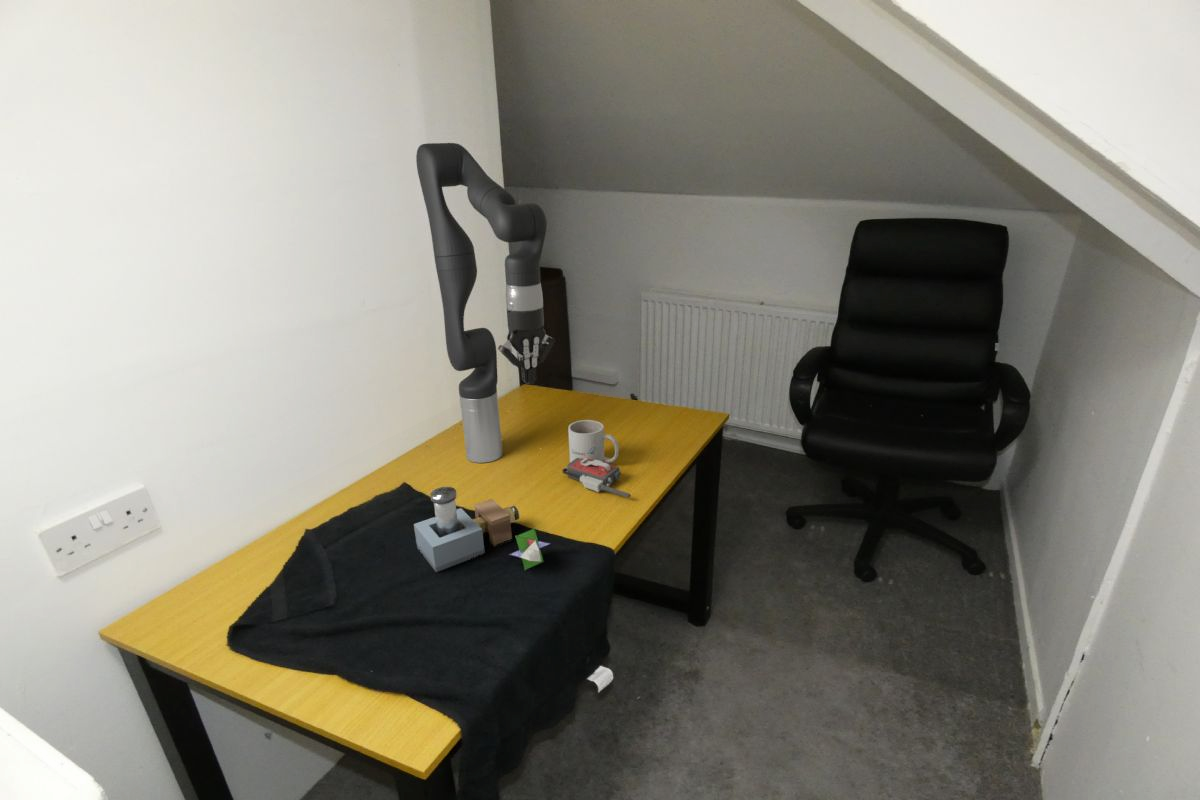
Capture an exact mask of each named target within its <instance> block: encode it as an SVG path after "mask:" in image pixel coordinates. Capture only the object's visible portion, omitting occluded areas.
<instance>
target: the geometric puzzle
mask: <svg viewBox="0 0 1200 800" xmlns="http://www.w3.org/2000/svg"><path fill="white" fill-rule="evenodd" d="M536 531H537V530H536V527H533V528H532V529H530V530H527V531H525V532H522V533H520V534H518V535H515V541H516V542H514V544H513V546H512V547H513V548H511V551H513V549H514V548H515V546H516V545H517V546H516V547H517V548H518V550H516V551H514V552H511V553H509V554H508V555H509V556H511V557H512V556H513V557H517V558H519V560H520V562H521V564H522V566H521V565H520V563H519V562H517V561H516V559H515V558H513V557H512V559H513V560H515V562H516V563H517V564H518V565H519V566H521V568H523V570H524V571H526V570H529V569H532V568H533V567H535V566H537V565H540V564H541V563H544V562H545V559H544V555H545V556H546V554H547V552H548V550H549V547H550V545H551V543H550V542H546V541H541V540H540V539H539V535H538V532H536ZM546 546H548V547H547V549H546V551H545V552H544V555H543V551H542V548H544V547H546Z"/></svg>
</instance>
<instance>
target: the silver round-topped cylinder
mask: <svg viewBox="0 0 1200 800" xmlns="http://www.w3.org/2000/svg"><path fill="white" fill-rule="evenodd" d="M457 497H458V495H457V489H455V487H452V486H441V487H438V488H435V489H433V490H432V491H431V492H430V501H431V502H432V503H433V506H434V507H433V508H434V515H435V517H436V522H437V530H438V537H439V538H441V537H443V536H446V535H449V534H452V533H454V532H457V531H459V527H458V519H457V511H456V510H457V505H456V499H457Z"/></svg>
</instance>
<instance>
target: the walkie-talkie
mask: <svg viewBox="0 0 1200 800" xmlns="http://www.w3.org/2000/svg"><path fill="white" fill-rule="evenodd" d="M561 472H562V474H564V475H567V478H570V479H572V480H573V479H574V480H576V481H578V482H581V483H582V485H583V487H584V488H585V489H589V490H592V491H595V492H597V493H599V492H601V491H602V492H607V493H611V494H615V495H617V496H623V497H626V498H631V496H632V495H631V494H630V493H628V492H625V491H622V490H619V489H616V488H613V487H610V486H611V485H612V484H613V483H614V482H615V481H619V480H620V478H621V476H622V475H621V474H622V473H621V472H620V467H619V466H615V465H612V464H611V463H606V462H602V461H599V460H593V459H587V458H585V459H584V458H576V459H574V460H573V461H572V462H570V461H569V463H568V464H567V465H566V467H565V468H562V471H561Z"/></svg>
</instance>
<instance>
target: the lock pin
mask: <svg viewBox="0 0 1200 800" xmlns="http://www.w3.org/2000/svg"><path fill="white" fill-rule="evenodd" d="M503 509H504V510H505V511H506V512H507V513H508V514H509V515H510V523H511V524H512V523H516V521H518V520H519V519H520V512H519V509H518V508H517V506H515V505H512V506H507V507H504V508H503ZM471 519H472V520H473V521H474V522H475V523H476V524H477V525H478V526H479V527H480V528H481V529H482V533H483V534H486V533H489V531H488V522H487V521H486V520H485V519H484V518H483V517H482V516H481V517H478V518H476V517H475V518H471ZM460 529H461V530H463V529H464V528H463V527H462V526H461V525H460Z"/></svg>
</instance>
